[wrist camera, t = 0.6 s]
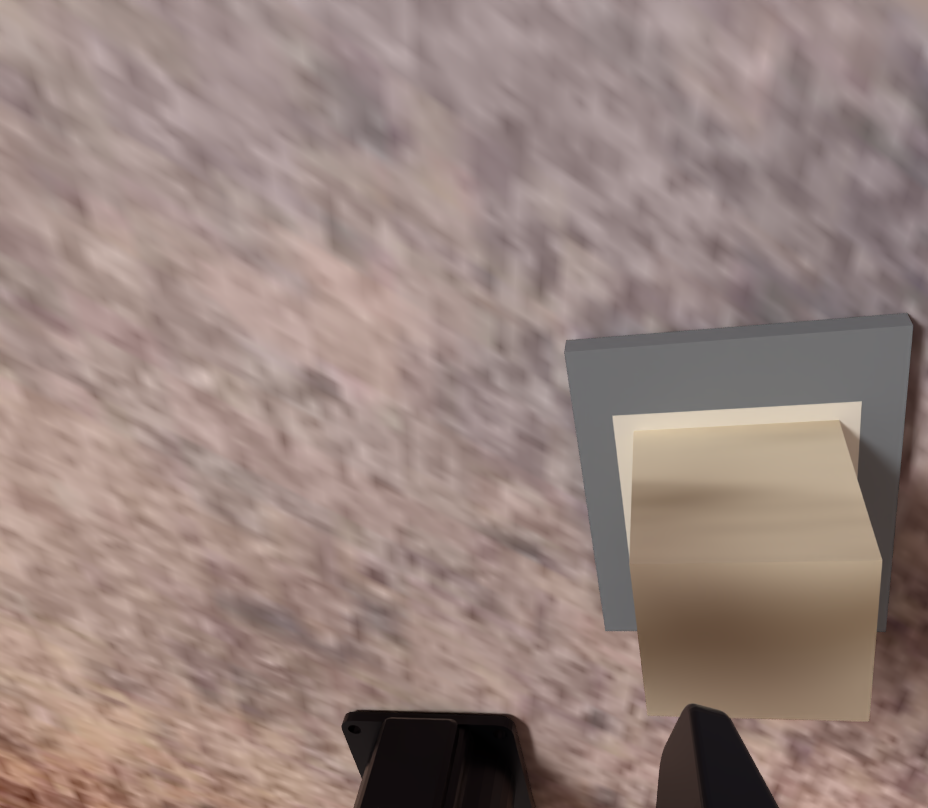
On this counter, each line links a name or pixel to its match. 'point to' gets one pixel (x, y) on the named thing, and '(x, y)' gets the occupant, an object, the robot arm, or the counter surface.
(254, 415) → the counter surface
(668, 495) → the maple block
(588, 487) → the grey base plate
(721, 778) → the robot arm
